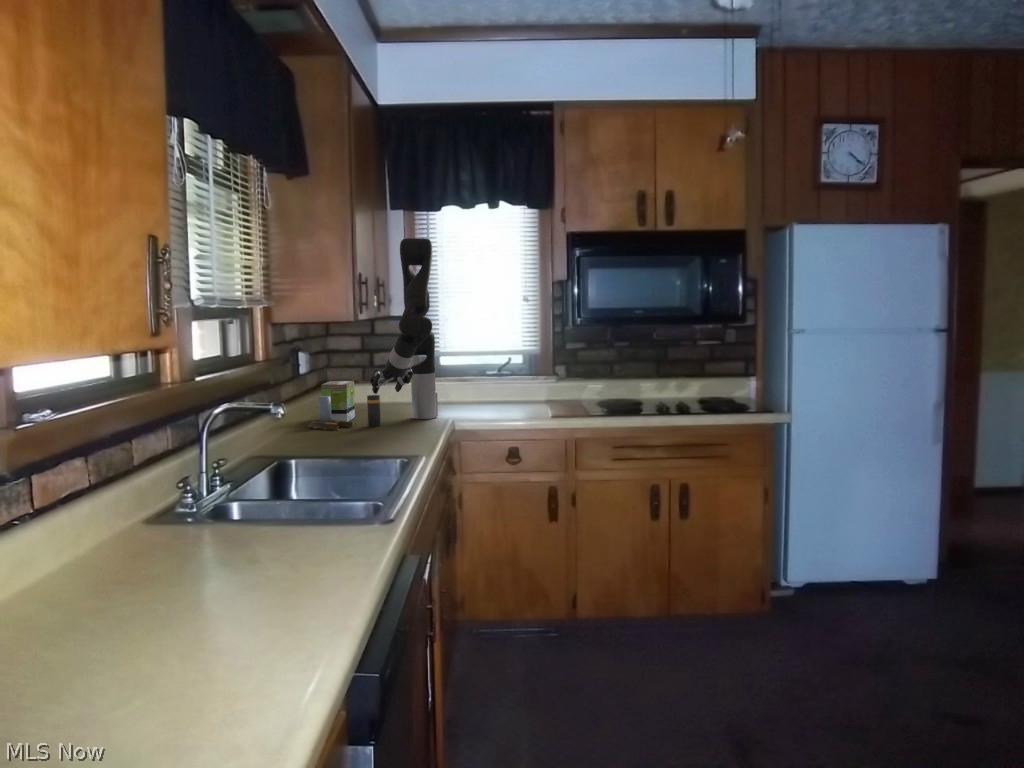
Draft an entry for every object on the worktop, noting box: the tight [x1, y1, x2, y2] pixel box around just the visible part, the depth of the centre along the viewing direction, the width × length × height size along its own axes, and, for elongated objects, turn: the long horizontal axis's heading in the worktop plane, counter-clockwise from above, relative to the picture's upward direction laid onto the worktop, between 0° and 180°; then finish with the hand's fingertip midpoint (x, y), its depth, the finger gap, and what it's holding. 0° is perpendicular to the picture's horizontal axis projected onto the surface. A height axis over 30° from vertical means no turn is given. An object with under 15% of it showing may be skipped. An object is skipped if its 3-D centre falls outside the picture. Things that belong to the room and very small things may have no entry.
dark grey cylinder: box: [366, 394, 382, 428], centre depth 293 cm, size 5×5×11 cm
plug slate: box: [317, 395, 332, 423], centre depth 293 cm, size 4×4×11 cm
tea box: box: [320, 380, 356, 422], centre depth 309 cm, size 15×10×15 cm
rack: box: [308, 420, 353, 431], centre depth 291 cm, size 8×14×2 cm, turn 55°
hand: (385, 391), depth 284 cm, fingers open, 8 cm apart
